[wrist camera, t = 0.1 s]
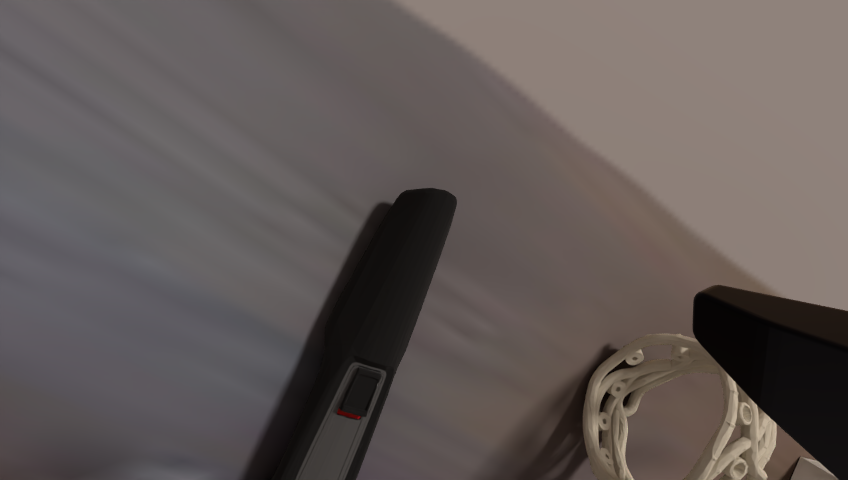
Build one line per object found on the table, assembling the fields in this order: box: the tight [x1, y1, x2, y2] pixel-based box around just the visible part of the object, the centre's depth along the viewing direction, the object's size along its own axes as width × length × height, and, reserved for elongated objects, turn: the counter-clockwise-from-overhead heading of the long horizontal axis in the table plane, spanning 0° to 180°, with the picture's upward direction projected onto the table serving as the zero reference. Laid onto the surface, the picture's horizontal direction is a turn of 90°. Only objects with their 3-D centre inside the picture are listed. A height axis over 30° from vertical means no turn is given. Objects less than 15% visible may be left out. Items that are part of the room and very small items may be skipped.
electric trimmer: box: [271, 188, 457, 480], centre depth 24 cm, size 4×16×3 cm, turn 155°
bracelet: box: [583, 334, 776, 480], centre depth 27 cm, size 4×8×8 cm, turn 144°
